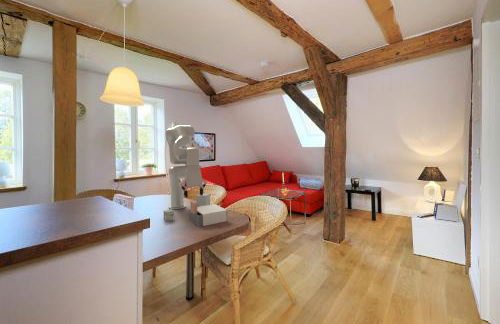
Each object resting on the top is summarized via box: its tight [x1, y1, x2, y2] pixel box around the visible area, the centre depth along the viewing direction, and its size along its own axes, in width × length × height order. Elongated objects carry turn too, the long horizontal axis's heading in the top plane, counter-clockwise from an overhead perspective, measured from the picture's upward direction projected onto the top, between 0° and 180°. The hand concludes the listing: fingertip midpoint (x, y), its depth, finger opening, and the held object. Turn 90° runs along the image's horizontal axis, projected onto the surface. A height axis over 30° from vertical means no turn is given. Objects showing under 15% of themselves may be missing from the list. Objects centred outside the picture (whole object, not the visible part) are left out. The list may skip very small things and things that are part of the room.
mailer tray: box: [188, 200, 203, 227], centre depth 155 cm, size 16×19×13 cm
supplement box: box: [196, 192, 211, 207], centre depth 174 cm, size 7×7×13 cm
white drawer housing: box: [197, 203, 228, 227], centre depth 157 cm, size 18×16×7 cm
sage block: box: [163, 208, 174, 222], centre depth 157 cm, size 5×5×6 cm
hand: (193, 195), depth 149 cm, fingers open, 9 cm apart
